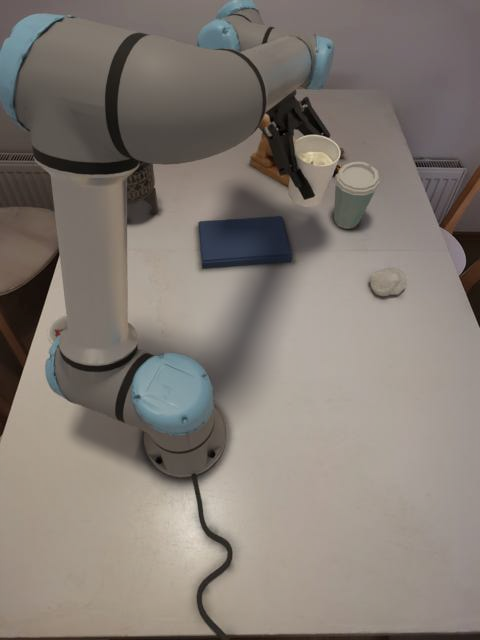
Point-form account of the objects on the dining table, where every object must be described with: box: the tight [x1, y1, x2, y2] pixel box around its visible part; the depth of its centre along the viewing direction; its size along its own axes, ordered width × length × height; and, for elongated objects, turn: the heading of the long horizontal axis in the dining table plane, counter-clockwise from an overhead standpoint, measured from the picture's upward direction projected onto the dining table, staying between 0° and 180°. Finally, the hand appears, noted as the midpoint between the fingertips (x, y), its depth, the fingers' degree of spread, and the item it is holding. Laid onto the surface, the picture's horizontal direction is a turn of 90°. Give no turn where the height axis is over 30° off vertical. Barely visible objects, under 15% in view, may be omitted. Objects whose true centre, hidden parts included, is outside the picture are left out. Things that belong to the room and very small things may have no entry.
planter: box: [127, 161, 159, 215], centre depth 108 cm, size 13×13×18 cm
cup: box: [46, 314, 68, 345], centre depth 88 cm, size 11×8×8 cm
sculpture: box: [249, 114, 299, 187], centre depth 119 cm, size 6×17×15 cm, turn 50°
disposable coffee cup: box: [333, 161, 380, 229], centre depth 108 cm, size 11×11×15 cm
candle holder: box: [287, 135, 341, 208], centre depth 93 cm, size 10×10×12 cm
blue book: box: [197, 215, 293, 270], centre depth 108 cm, size 14×22×2 cm, turn 97°
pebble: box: [368, 267, 408, 297], centre depth 100 cm, size 9×8×5 cm
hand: (321, 185), depth 94 cm, fingers closed on candle holder, 9 cm apart
